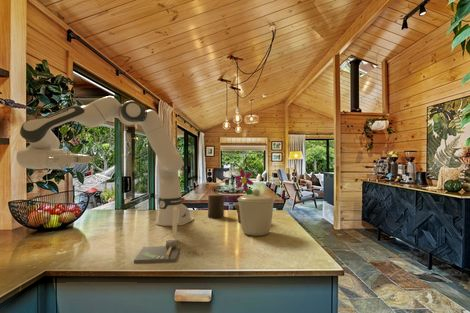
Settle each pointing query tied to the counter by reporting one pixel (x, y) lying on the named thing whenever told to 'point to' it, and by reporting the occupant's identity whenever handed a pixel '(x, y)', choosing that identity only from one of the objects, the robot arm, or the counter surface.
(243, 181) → the flowerpot
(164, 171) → the robot arm
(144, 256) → the dial board
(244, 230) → the canister
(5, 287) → the counter surface
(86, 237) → the counter surface
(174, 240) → the upright cream panel
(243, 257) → the counter surface
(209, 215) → the pillar candle
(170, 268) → the counter surface
